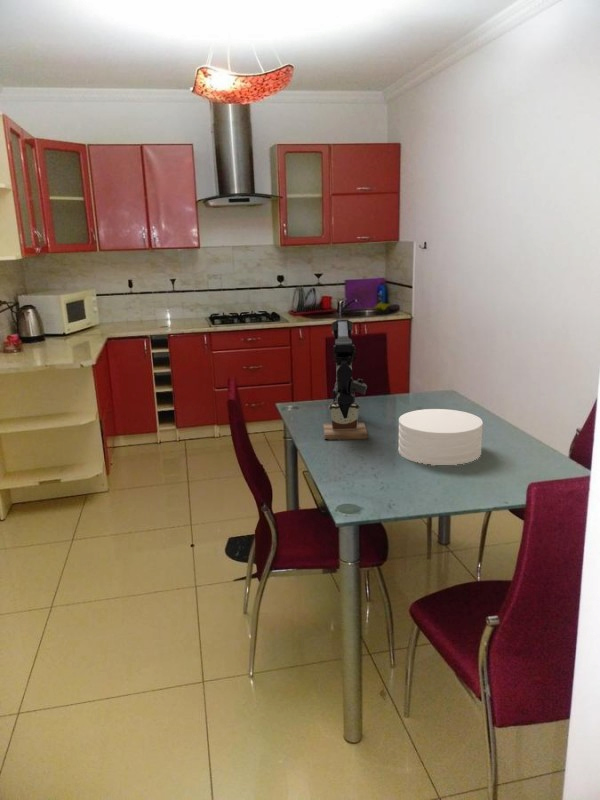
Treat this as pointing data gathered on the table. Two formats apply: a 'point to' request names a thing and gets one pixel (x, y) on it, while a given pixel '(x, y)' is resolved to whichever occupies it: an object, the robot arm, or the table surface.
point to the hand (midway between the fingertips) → (344, 414)
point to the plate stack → (440, 436)
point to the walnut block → (345, 432)
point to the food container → (339, 420)
